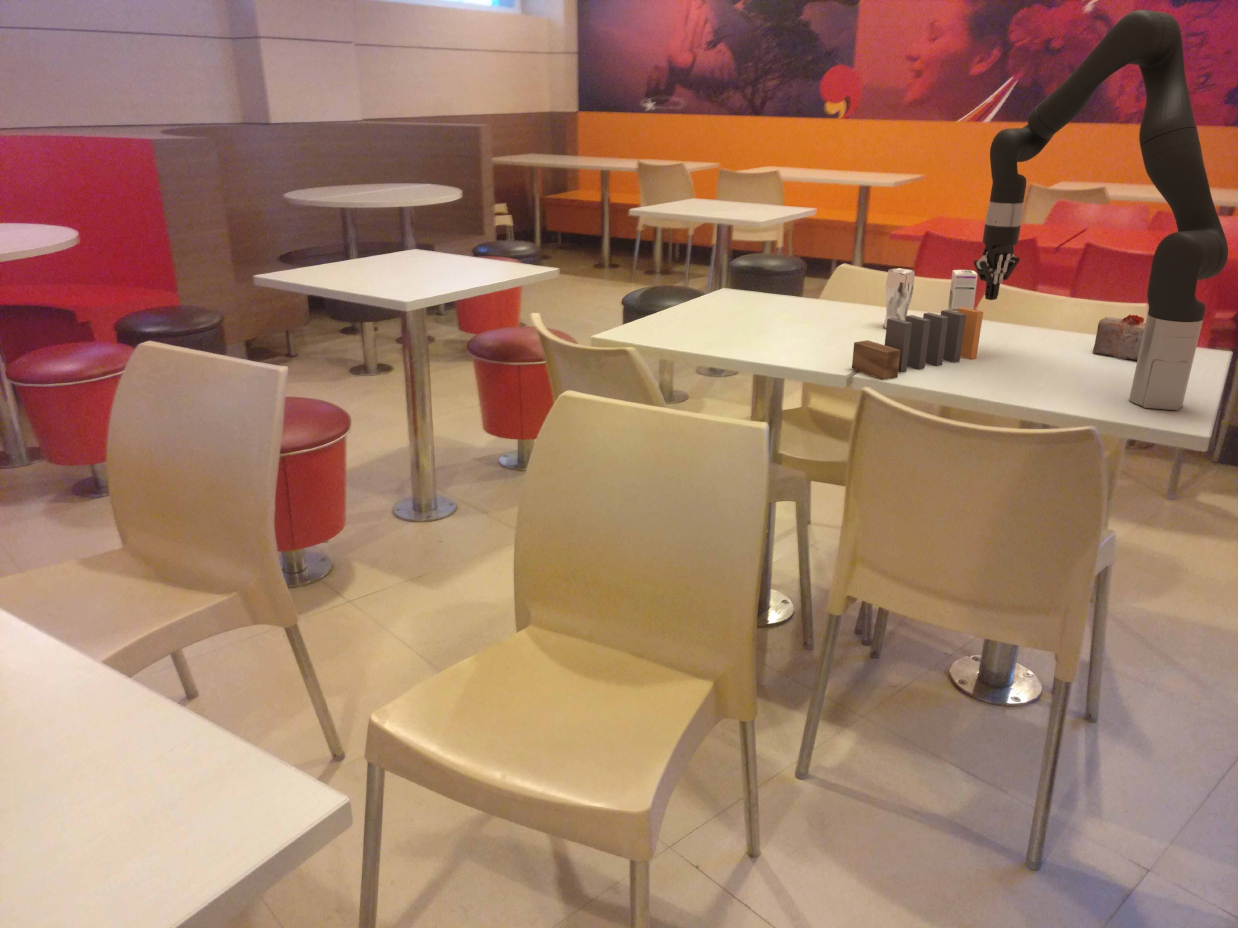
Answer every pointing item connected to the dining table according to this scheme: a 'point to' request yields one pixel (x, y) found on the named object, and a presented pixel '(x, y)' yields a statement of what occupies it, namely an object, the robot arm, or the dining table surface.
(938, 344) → the domino
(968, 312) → the orange tile
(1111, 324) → the food item
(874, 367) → the block
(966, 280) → the syrup box
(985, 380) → the dining table surface
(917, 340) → the domino
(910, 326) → the domino
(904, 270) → the beer glass
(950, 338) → the domino
